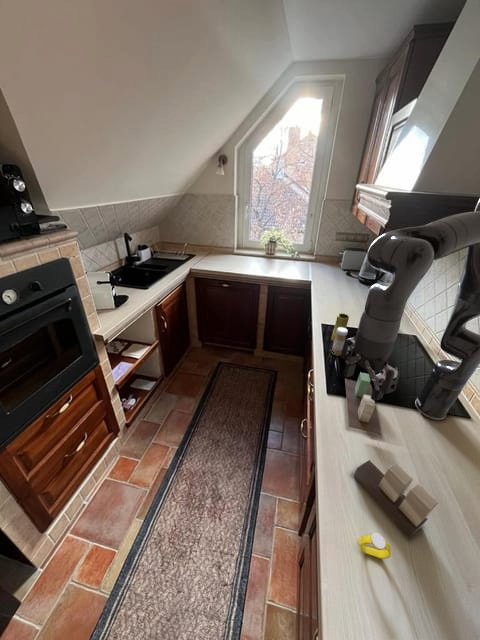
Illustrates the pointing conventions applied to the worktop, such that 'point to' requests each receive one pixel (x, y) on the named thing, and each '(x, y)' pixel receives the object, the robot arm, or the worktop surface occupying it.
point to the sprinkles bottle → (339, 341)
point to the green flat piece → (362, 384)
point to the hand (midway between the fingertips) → (361, 386)
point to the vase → (340, 324)
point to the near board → (355, 407)
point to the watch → (377, 543)
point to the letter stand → (397, 496)
